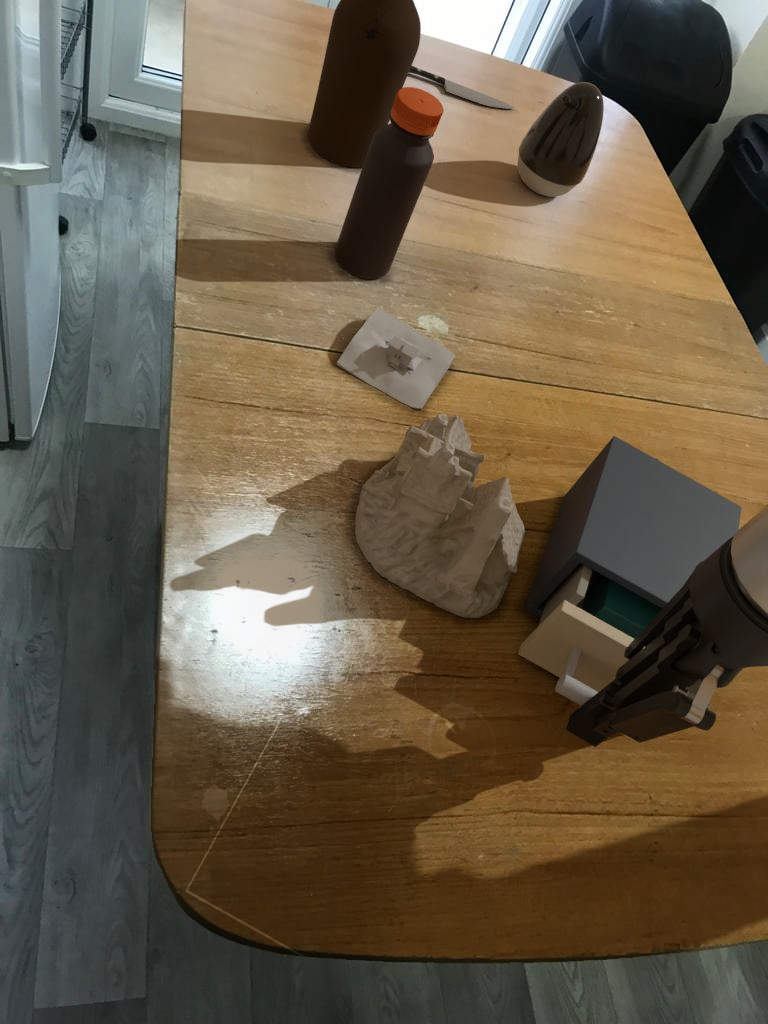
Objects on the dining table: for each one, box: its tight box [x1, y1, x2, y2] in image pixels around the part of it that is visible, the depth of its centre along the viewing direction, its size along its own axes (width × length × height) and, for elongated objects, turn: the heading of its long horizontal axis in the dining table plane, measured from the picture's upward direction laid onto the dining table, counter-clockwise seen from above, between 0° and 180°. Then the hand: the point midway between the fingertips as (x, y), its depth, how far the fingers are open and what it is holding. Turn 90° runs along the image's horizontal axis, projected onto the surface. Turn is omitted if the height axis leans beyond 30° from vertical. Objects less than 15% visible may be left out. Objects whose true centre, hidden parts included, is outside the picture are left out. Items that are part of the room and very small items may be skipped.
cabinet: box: [523, 435, 743, 619], centre depth 78 cm, size 16×14×10 cm
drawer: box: [517, 563, 662, 706], centre depth 72 cm, size 19×13×8 cm, turn 157°
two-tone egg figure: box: [517, 81, 605, 198], centre depth 116 cm, size 10×10×15 cm
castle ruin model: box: [354, 413, 526, 619], centre depth 73 cm, size 16×16×15 cm
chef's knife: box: [408, 65, 516, 110], centre depth 130 cm, size 19×1×3 cm
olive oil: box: [307, 0, 422, 169], centre depth 102 cm, size 11×11×25 cm
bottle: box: [334, 86, 444, 280], centre depth 91 cm, size 7×7×20 cm
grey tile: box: [336, 306, 457, 411], centre depth 88 cm, size 12×11×4 cm
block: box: [582, 576, 661, 639], centre depth 73 cm, size 5×5×5 cm
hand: (582, 730), depth 67 cm, fingers closed
